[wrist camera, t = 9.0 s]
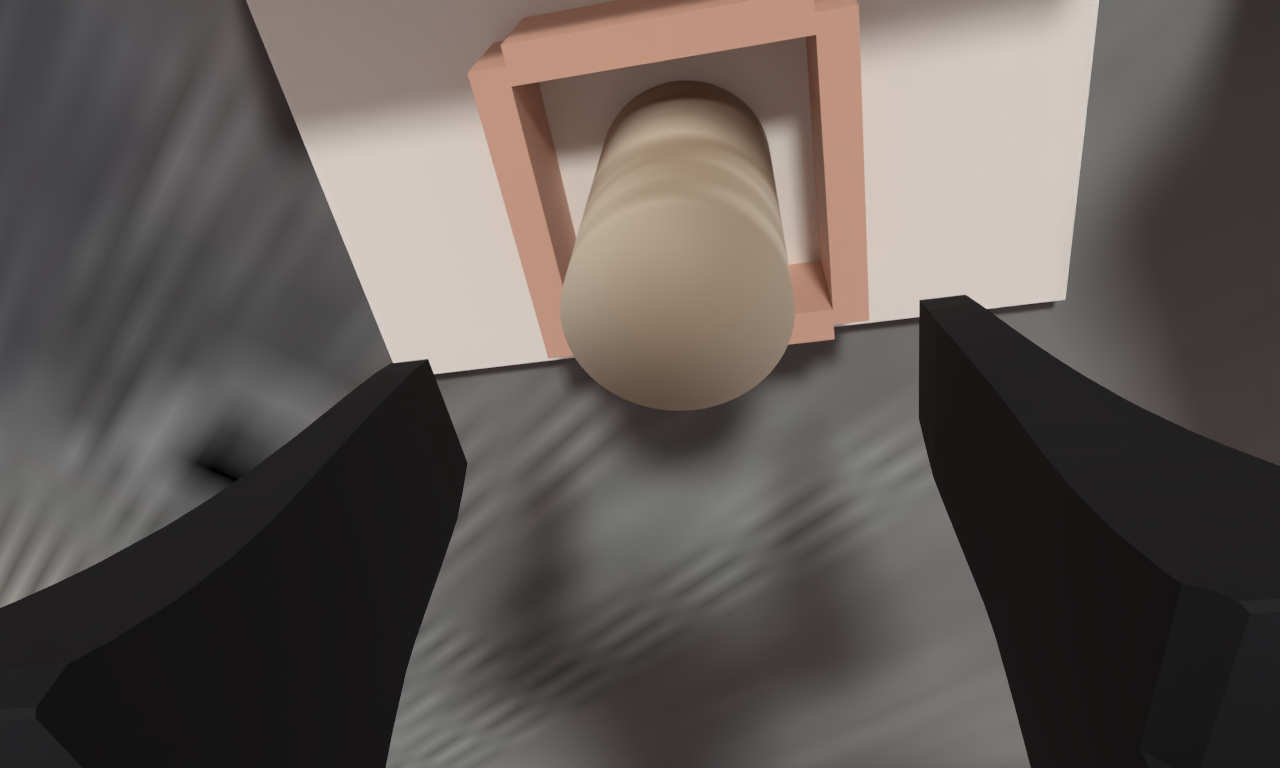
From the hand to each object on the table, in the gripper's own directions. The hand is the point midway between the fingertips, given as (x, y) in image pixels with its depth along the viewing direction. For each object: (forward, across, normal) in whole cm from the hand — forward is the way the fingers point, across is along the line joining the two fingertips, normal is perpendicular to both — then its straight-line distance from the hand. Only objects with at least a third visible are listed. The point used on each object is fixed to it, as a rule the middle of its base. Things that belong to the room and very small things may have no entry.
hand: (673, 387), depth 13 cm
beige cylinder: (+9, 0, 0) cm, 9 cm away
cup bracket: (+10, 0, -1) cm, 10 cm away
